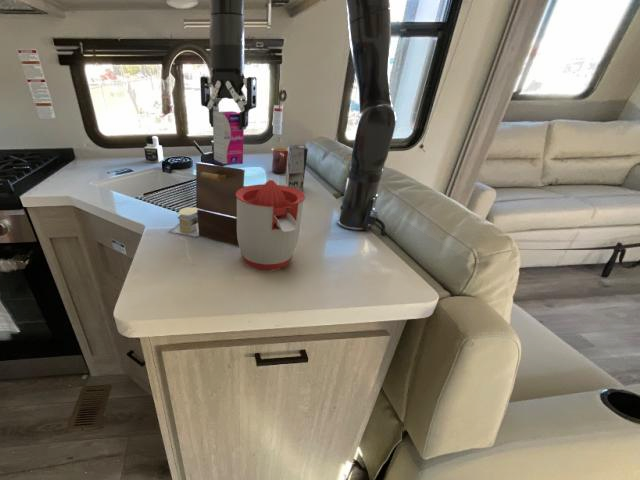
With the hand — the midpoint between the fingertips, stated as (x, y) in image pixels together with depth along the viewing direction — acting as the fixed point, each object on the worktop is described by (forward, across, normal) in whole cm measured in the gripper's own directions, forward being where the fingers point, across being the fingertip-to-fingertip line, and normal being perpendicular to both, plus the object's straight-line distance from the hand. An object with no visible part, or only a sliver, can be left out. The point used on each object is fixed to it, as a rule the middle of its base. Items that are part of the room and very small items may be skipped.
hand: (228, 128), depth 79 cm
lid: (+14, 0, +4) cm, 15 cm away
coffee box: (+28, +1, -53) cm, 60 cm away
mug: (+28, +17, -74) cm, 81 cm away
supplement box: (+8, 0, 0) cm, 8 cm away
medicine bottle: (+28, +84, -61) cm, 107 cm away
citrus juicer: (+28, -17, +10) cm, 34 cm away
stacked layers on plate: (+28, +12, +2) cm, 31 cm away
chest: (+28, 0, 0) cm, 28 cm away
